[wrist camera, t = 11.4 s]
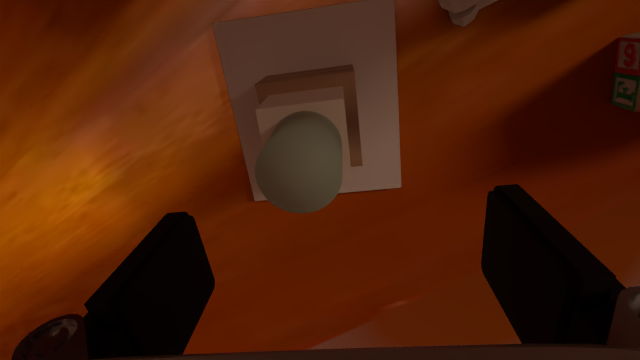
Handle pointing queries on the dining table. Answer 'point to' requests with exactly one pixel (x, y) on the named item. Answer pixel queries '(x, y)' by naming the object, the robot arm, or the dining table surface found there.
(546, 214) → the robot arm
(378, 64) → the grey board
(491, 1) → the chicken leg
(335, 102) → the middle block
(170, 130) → the dining table surface
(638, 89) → the stack of blocks
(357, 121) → the base block
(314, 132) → the olive domed cylinder
